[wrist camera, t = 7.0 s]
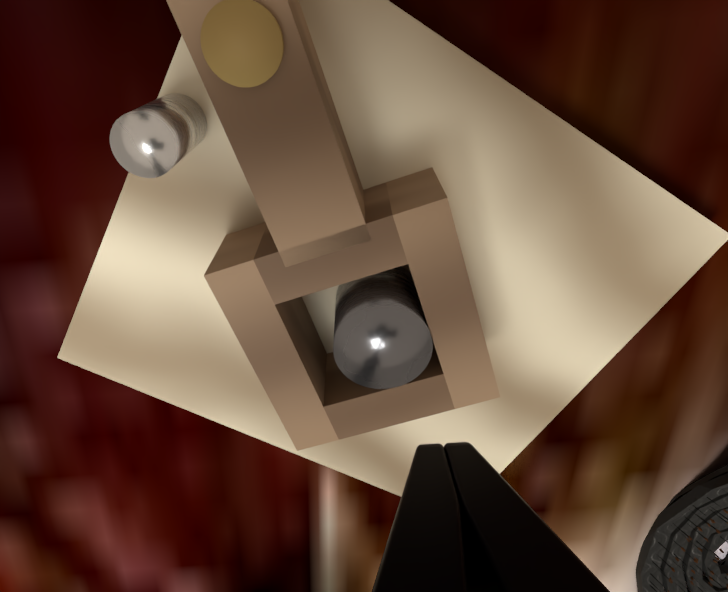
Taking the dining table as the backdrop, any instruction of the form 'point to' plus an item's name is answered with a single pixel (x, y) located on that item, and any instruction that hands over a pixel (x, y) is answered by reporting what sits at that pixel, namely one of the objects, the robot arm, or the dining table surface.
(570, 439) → the dining table surface
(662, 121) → the dining table surface
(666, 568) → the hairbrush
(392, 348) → the grey round canister
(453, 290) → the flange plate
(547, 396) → the birch board
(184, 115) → the dowel pin
